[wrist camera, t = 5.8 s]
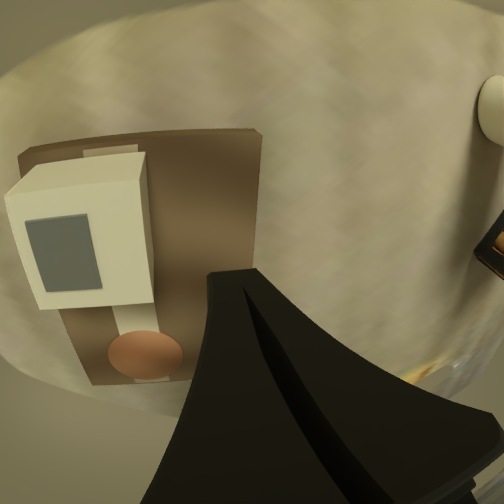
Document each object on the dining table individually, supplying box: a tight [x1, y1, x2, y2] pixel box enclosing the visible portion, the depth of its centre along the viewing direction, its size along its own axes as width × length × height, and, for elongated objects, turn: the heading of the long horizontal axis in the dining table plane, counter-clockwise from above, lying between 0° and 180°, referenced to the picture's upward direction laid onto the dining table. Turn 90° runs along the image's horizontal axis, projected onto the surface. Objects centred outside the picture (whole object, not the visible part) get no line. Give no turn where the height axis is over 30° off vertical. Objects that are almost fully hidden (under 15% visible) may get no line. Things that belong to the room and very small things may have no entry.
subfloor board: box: [17, 129, 262, 385], centre depth 17 cm, size 16×11×2 cm
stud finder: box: [4, 152, 154, 310], centre depth 12 cm, size 5×5×4 cm
